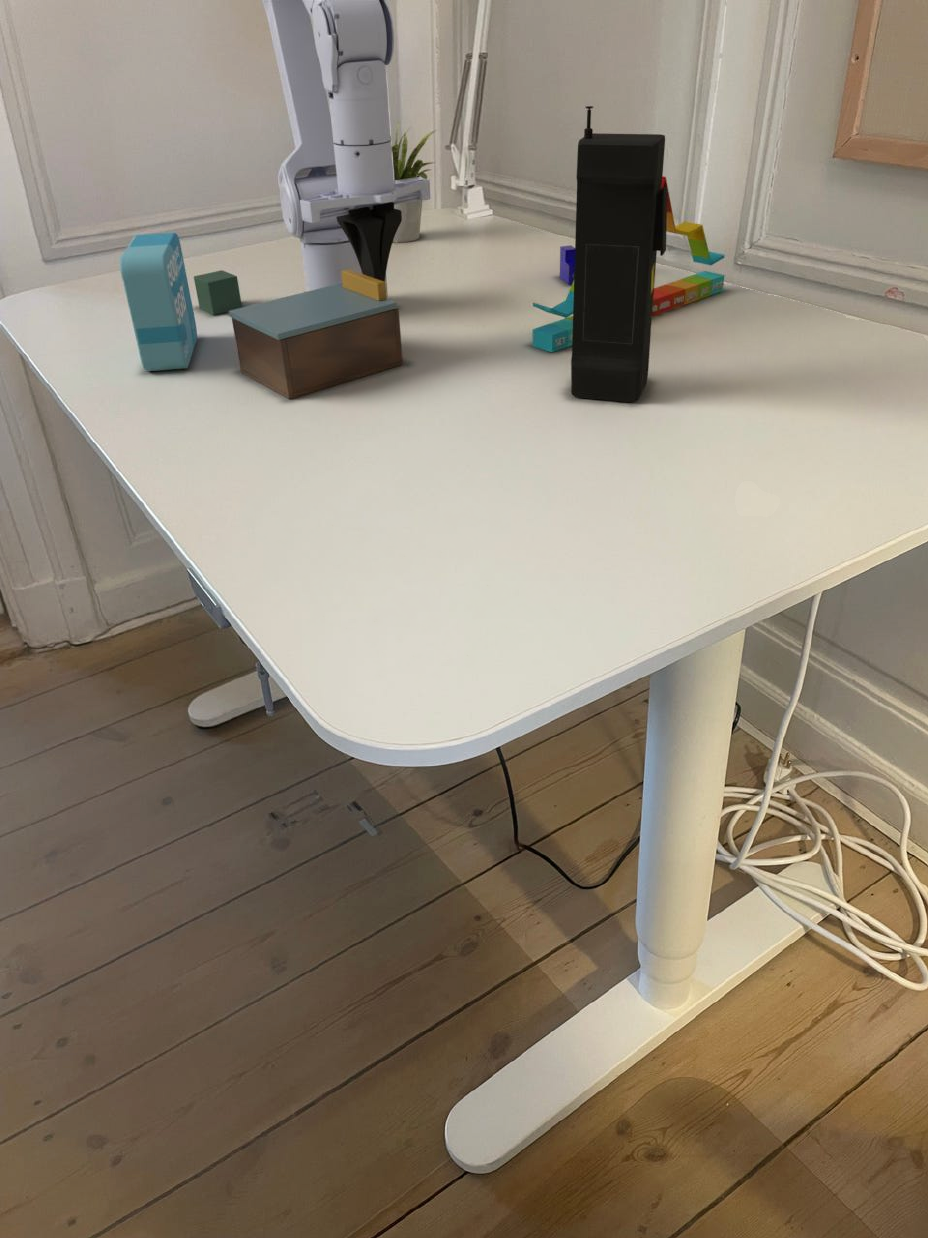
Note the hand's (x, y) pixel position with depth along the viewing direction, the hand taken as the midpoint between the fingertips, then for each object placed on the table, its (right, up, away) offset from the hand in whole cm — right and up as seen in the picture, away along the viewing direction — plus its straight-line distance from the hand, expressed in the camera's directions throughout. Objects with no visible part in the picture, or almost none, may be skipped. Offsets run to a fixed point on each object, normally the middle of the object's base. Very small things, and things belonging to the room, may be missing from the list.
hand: (374, 282), depth 102 cm
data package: (-23, -6, +6) cm, 25 cm away
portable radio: (+24, -13, -7) cm, 29 cm away
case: (-6, -9, 0) cm, 11 cm away
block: (-21, +4, +19) cm, 29 cm away
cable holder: (+27, +9, +25) cm, 37 cm away
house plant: (-1, +23, +46) cm, 51 cm away
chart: (+30, 0, +11) cm, 32 cm away
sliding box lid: (-6, -4, -3) cm, 8 cm away
